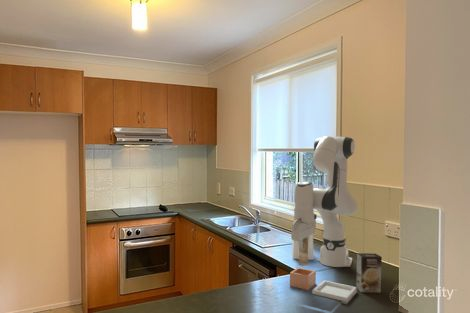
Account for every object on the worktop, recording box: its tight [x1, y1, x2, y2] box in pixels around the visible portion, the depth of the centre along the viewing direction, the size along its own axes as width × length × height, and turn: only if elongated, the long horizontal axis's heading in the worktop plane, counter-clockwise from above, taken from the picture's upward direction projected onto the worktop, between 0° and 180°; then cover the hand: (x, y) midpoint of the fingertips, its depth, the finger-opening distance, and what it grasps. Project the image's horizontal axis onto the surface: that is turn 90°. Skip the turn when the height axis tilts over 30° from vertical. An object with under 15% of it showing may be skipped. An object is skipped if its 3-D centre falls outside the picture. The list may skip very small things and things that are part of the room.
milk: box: [291, 221, 315, 261], centre depth 218 cm, size 12×12×26 cm
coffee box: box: [355, 252, 383, 293], centre depth 166 cm, size 9×6×16 cm
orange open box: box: [289, 267, 317, 291], centre depth 168 cm, size 9×9×7 cm
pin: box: [298, 238, 309, 267], centre depth 168 cm, size 4×4×12 cm
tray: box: [311, 279, 358, 305], centre depth 160 cm, size 15×15×2 cm
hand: (303, 246), depth 168 cm, fingers closed on pin, 4 cm apart
